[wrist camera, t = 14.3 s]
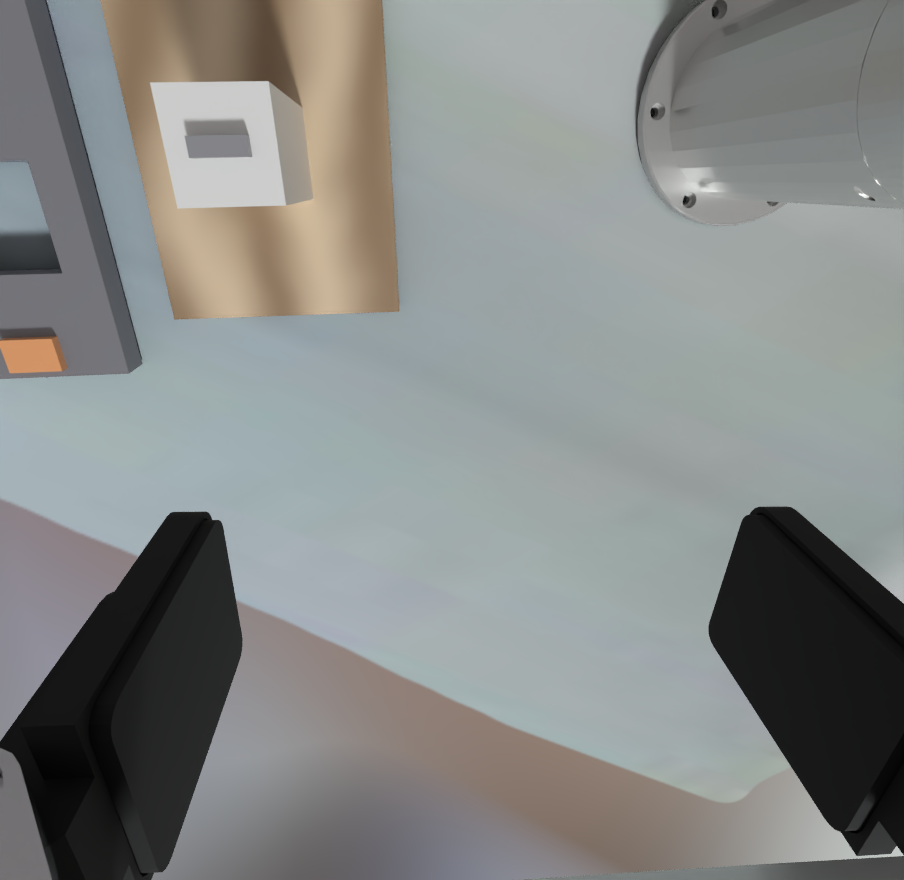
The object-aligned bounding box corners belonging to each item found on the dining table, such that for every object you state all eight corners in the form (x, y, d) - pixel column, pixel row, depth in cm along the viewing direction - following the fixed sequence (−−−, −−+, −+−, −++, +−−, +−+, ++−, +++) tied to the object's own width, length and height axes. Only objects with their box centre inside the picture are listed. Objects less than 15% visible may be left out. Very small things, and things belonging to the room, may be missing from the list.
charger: (302, 107, 30) (265, 78, 22) (313, 199, 32) (283, 205, 23) (216, 108, 30) (143, 80, 21) (232, 201, 32) (172, 209, 23)
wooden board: (379, -42, 28) (379, -48, 28) (399, 308, 36) (399, 311, 35) (96, -46, 27) (88, -52, 27) (179, 316, 35) (174, 319, 34)
